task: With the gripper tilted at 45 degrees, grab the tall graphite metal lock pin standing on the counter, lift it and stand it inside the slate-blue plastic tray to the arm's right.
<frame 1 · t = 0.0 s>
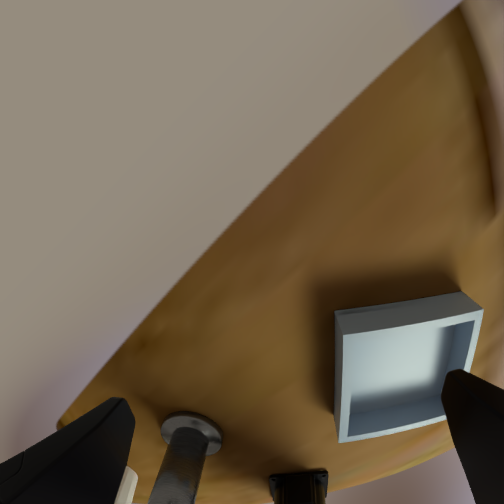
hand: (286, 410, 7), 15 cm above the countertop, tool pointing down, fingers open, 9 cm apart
pin tray: (398, 359, 23), on the countertop
white cup: (118, 469, 31), on the countertop
lock pin: (192, 431, 27), on the countertop
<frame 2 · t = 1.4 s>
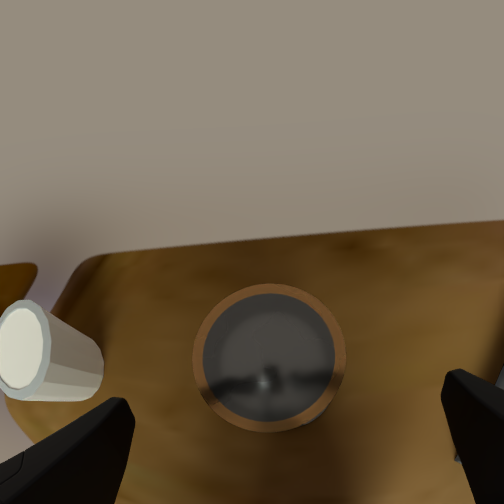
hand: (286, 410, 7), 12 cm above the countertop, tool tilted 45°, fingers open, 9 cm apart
white cup: (78, 367, 22), on the countertop
lock pin: (287, 382, 19), on the countertop
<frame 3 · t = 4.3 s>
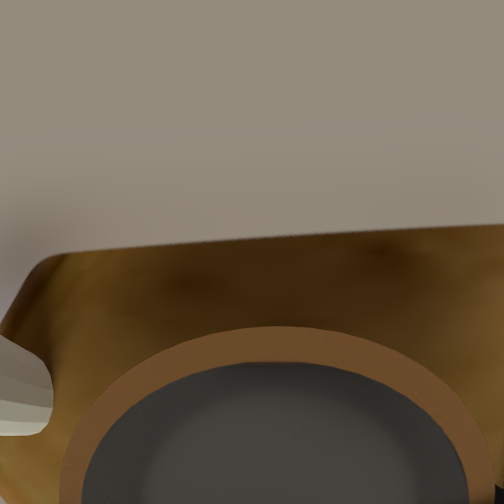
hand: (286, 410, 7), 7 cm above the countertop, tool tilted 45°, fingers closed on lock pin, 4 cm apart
white cup: (27, 393, 15), on the countertop
lock pin: (292, 438, 12), on the countertop, touching gripper
when the fingers open (9 cm above the countertop, at t = 9.0 s): lock pin drops 1 cm, resting on pin tray.
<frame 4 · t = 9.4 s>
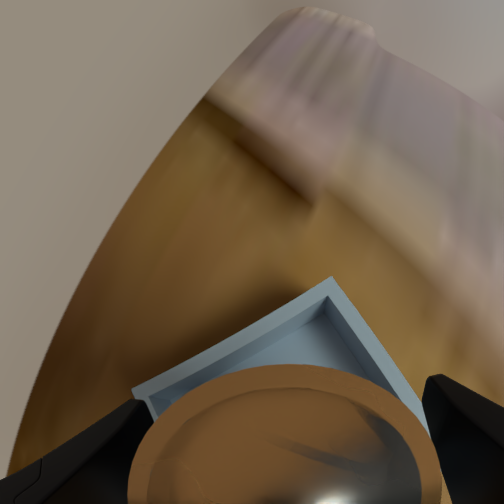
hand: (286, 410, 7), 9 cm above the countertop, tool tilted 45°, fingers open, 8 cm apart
pin tray: (293, 435, 14), on the countertop
lock pin: (293, 436, 14), point 1 cm above the countertop, touching pin tray
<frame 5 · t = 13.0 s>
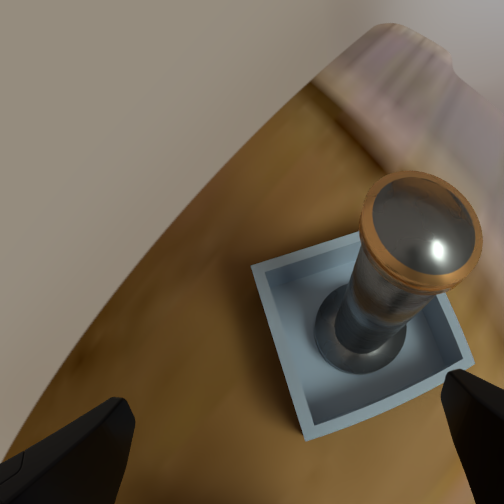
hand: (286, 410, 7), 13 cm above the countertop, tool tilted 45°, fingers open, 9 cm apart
pin tray: (357, 332, 20), on the countertop
lock pin: (359, 329, 19), point 1 cm above the countertop, touching pin tray
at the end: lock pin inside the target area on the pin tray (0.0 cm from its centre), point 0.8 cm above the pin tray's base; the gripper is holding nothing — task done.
